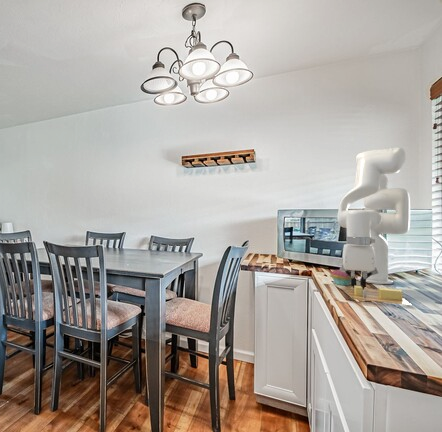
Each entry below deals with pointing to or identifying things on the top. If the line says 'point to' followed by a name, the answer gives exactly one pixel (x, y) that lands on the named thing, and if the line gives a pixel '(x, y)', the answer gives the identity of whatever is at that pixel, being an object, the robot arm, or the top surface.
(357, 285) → the knife
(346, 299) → the top surface
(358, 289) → the butter pat
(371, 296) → the board
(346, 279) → the birthday cake
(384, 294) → the butter
